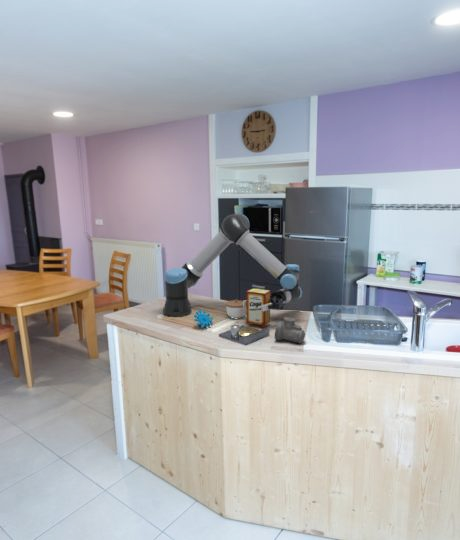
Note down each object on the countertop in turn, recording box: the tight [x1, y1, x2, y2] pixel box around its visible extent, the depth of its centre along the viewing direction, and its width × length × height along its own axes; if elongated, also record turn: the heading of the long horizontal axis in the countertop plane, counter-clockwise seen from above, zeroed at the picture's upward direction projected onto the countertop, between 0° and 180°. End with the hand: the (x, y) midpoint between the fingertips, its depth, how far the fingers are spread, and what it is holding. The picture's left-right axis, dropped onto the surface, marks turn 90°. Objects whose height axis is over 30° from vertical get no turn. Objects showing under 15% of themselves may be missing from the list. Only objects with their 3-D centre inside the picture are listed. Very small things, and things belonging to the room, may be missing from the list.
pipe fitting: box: [274, 316, 306, 344], centre depth 165 cm, size 12×8×10 cm
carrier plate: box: [218, 324, 270, 346], centre depth 172 cm, size 16×16×6 cm
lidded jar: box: [225, 299, 246, 319], centre depth 199 cm, size 11×11×9 cm
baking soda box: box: [245, 288, 271, 327], centre depth 185 cm, size 10×6×16 cm
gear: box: [193, 309, 215, 329], centre depth 187 cm, size 11×6×10 cm
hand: (253, 306), depth 181 cm, fingers closed on baking soda box, 11 cm apart
